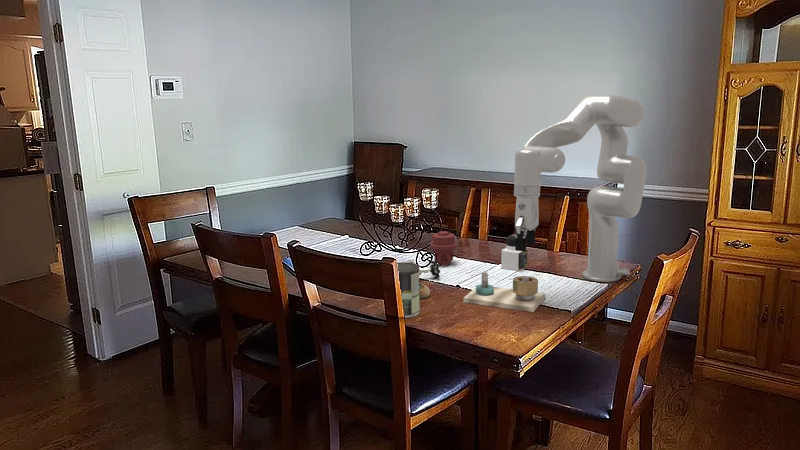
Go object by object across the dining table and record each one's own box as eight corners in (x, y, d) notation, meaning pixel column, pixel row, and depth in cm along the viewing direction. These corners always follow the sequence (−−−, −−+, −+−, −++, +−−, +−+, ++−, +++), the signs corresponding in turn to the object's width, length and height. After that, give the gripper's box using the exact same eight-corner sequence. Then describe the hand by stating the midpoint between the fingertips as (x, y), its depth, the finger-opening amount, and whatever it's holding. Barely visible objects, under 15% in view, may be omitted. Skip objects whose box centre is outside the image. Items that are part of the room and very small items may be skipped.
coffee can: (396, 320, 178) (395, 273, 175) (379, 310, 187) (378, 265, 184) (426, 313, 183) (426, 267, 180) (408, 304, 192) (407, 260, 189)
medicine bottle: (518, 271, 223) (519, 239, 220) (500, 268, 227) (501, 236, 225) (527, 266, 229) (528, 235, 226) (509, 264, 233) (510, 233, 230)
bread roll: (390, 297, 198) (391, 282, 197) (404, 292, 208) (405, 277, 208) (423, 303, 193) (424, 287, 193) (435, 297, 204) (436, 282, 203)
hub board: (545, 297, 194) (545, 271, 193) (533, 312, 182) (534, 284, 180) (478, 289, 204) (478, 264, 202) (463, 302, 192) (463, 276, 190)
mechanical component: (456, 260, 240) (457, 267, 230) (430, 260, 240) (430, 267, 230) (455, 229, 237) (457, 235, 227) (429, 229, 237) (430, 235, 228)
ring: (539, 289, 191) (539, 277, 190) (533, 296, 185) (533, 284, 184) (517, 287, 194) (517, 275, 193) (510, 293, 188) (510, 281, 187)
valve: (407, 284, 212) (440, 280, 215) (406, 265, 210) (440, 262, 213) (402, 278, 218) (434, 275, 221) (401, 260, 217) (434, 257, 220)
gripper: (531, 196, 174) (529, 255, 177) (546, 187, 189) (544, 242, 192) (505, 194, 177) (504, 252, 180) (522, 186, 192) (521, 240, 196)
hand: (525, 247), depth 186 cm, fingers open, 9 cm apart
